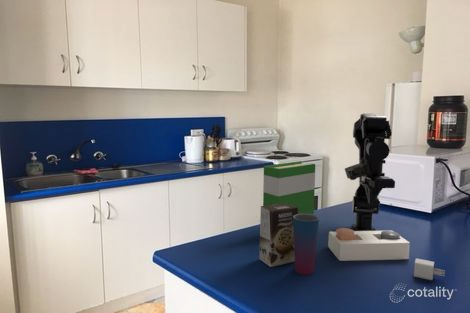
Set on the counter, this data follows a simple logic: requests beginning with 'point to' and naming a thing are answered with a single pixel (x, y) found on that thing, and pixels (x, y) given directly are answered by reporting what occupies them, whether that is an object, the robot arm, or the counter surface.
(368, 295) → the counter surface
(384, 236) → the charcoal plunger
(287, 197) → the hardback book
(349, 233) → the terracotta plunger
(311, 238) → the cup
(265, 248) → the brown cookie box
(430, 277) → the usb wall charger
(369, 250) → the tray
